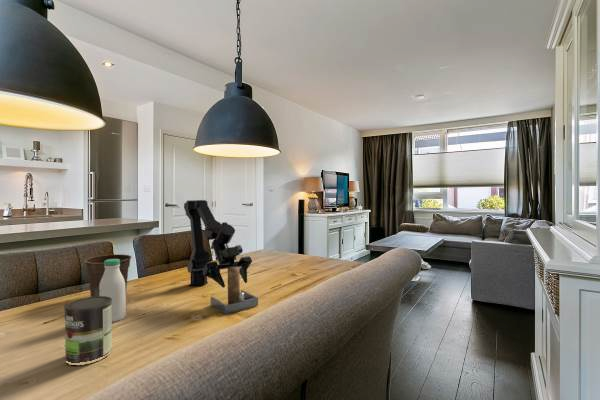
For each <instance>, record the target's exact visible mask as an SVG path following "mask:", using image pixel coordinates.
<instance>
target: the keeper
mask: <svg viewBox="0 0 600 400" xmlns="http://www.w3.org/2000/svg"><path fill="white" fill-rule="evenodd" d="M210 306H212V307H213V308H214V309H216V310H217V311H219V312H220V313H222V314H223V315H228V314H233V313H235V312H239V311H243V310H247V309H251V308H255V307H258V306H259V297H258V296H256V295H253V294H251V293H249V292H247V291H245V290H240V293H239V302H235V303H231V304H228V303H227V304H226V303H223V302H222V301H220V300H219V299H217V298H215V297H214V296H211V297H210Z"/></svg>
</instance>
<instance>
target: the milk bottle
mask: <svg viewBox="0 0 600 400" xmlns="http://www.w3.org/2000/svg"><path fill="white" fill-rule="evenodd" d="M119 266H120V259H108V260H105V261H104V267H105V271H104V274H103V277H102V279H101V281H100V285H99V296H106V297H110V298H112V303H111V306H112V323H114V322H115V323H116V322H119V321H121V320H123V319H124V318H126V315H127V314H126V313H127V307H126V304H127V302H126V301H127V300H126V297H127V290H126V291H125V280H124V278H123V276H122V274H121V272H120V269H119Z"/></svg>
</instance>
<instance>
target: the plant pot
mask: <svg viewBox="0 0 600 400" xmlns="http://www.w3.org/2000/svg"><path fill="white" fill-rule="evenodd" d="M108 259H120V266H119V269H120V272H121V274H122V276H123V278H124V280H125V291H126V292H127V286H128V275H129V268H130V266H131V259H132V255H129V254H106V255H98V256H93V257H91V256H90V257H88V258H86V259H84V263H85V267H86V272H87V275H88V284H89V291H90V297H94V296H99V285H100V281H101V279H102V277H103V274H104V271H105V267H104V261H105V260H108Z"/></svg>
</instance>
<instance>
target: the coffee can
mask: <svg viewBox="0 0 600 400" xmlns="http://www.w3.org/2000/svg"><path fill="white" fill-rule="evenodd" d="M111 303H112V298H110V297H106V296H94V297H91V296H87V297H82V298H78V299H75V300H72V301H70V302H68V303H66V304H65V305H64V307H63V309H64V326H65V329H64V331H65V333H64V334H65V337H64V338H65V340H64V341H65V342H64V343H65V360H66V361H68V362H71V363H80V362H87V361H92V360H95V359H98V358H100V357H103V356H105V355H107V354H108V353H109V352H110V351H111V350H112V351H113V346H112V345H113V343H112V340H113V339H112V336H113V333H112V330H113V329H112V327H113V326H112V323H113V322H112V306H111Z"/></svg>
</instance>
